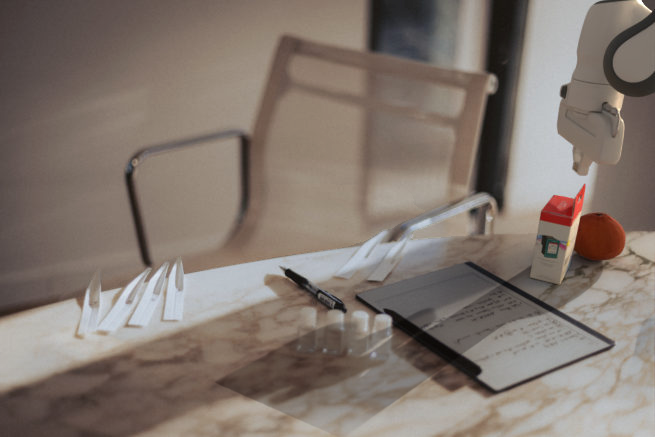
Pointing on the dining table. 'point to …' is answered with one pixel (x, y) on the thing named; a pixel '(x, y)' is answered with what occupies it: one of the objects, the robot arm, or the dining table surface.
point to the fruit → (599, 237)
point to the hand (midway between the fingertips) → (579, 173)
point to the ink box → (556, 237)
